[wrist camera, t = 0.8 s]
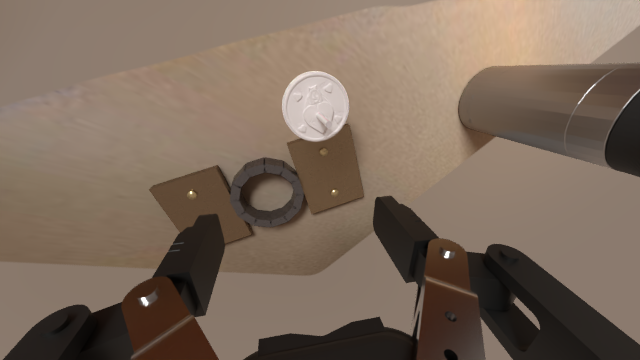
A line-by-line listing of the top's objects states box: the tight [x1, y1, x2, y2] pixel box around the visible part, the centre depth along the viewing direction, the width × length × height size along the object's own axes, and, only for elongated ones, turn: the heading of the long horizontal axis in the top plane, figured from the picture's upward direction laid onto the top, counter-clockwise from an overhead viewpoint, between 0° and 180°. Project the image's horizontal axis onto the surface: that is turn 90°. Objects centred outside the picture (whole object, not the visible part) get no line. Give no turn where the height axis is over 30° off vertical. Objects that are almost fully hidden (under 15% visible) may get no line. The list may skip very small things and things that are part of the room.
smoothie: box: [282, 71, 349, 142], centre depth 23 cm, size 6×6×14 cm
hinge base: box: [149, 124, 364, 243], centre depth 33 cm, size 28×12×2 cm, turn 105°
